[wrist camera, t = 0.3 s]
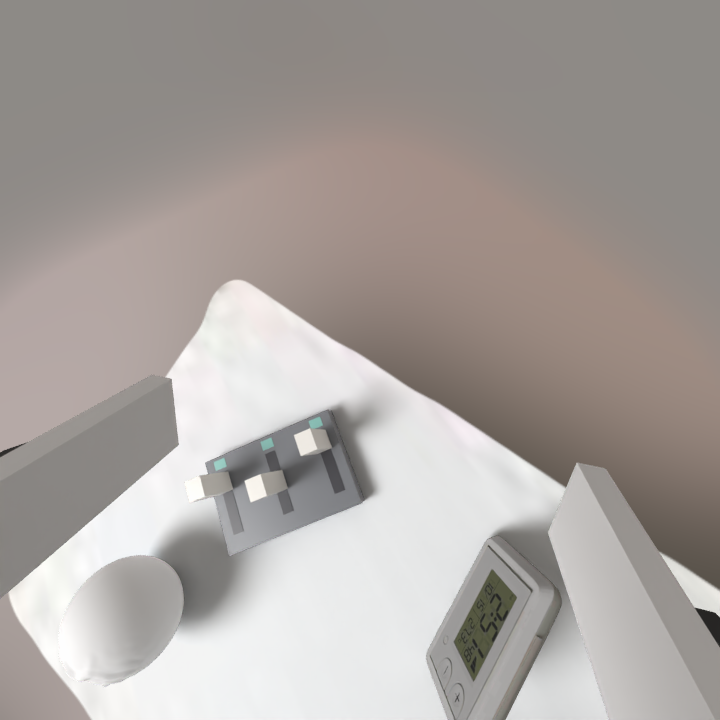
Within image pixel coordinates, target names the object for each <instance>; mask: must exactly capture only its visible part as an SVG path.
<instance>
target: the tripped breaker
mask: <svg viewBox="0 0 720 720" xmlns="http://www.w3.org/2000/svg"><path fill="white" fill-rule="evenodd" d="M245 485H246V488H247V492H248V495H249V499H250V502H253V501H256V500H259V499H262V498H265V497H268V496H271V495H274V494H276V493H279V492H281V491H284V490H286V489H288V487H287V484H286V480H285V477H284V474H283V471H282V470H279V471H274V472H269V473H264V474H260V475H257V476H255V477H252V478H250V479H248V480H245Z"/></svg>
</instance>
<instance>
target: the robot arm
mask: <svg viewBox="0 0 720 720" xmlns="http://www.w3.org/2000/svg"><path fill="white" fill-rule="evenodd" d="M178 445H179V443H178V434H177V425H176V416H175V407H174V398H173V388H172V379H170V378H165V377H160V376H155V375H151V376H149V377H147V378H145V379H143V380H141V381H140V382H138V383H136V384H134V385H132V386H130V387H129V388H127V389H125V390H123V391H121V392H120V393H118V394H116V395H114V396H112V397H110V398H108V399H107V400H105V401H103V402H101V403H99V404H97V405H96V406H94V407H92V408H90V409H88V410H87V411H85V412H83V413H81V414H79V415H77V416H75V417H73V418H72V419H70V420H68V421H66V422H64V423H62V424H61V425H59V426H57V427H55V428H53V429H51V430H50V431H48V432H46V433H44V434H42V435H41V436H39V437H37V438H35V439H33V440H31V441H29V442H27V443H24V444H21V445H19V446H16V447H13V448H10V449H7V450H4V451H2V452H0V599H1V598H2V597H3V596H4V595H5V594H6V593H8V592H9V591H10V590H11V589H12V588H13V587H15V586H16V585H17V584H18V583H19V582H20V581H22V580H23V579H24V578H25V577H26V576H27V575H29V574H30V573H31V572H32V571H33V570H34V569H35V568H37V567H38V566H39V565H40V564H41V563H42V562H44V561H45V560H46V559H47V558H48V557H49V556H51V555H52V554H53V553H54V552H55V551H56V550H57V549H59V548H60V547H61V546H62V545H63V544H64V543H66V542H67V541H68V540H69V539H70V538H71V537H73V536H74V535H75V534H76V533H77V532H78V531H79V530H81V529H82V528H83V527H84V526H85V525H86V524H88V523H89V522H90V521H91V520H92V519H93V518H95V517H96V516H97V515H98V514H99V513H100V512H101V511H103V510H104V509H105V508H106V507H107V506H108V505H110V504H111V503H112V502H113V501H114V500H115V499H117V498H118V497H119V496H120V495H121V494H122V493H123V492H125V491H126V490H127V489H128V488H129V487H130V486H132V485H133V484H134V483H135V482H136V481H137V480H139V479H140V478H141V477H142V476H143V475H144V474H145V473H147V472H148V471H149V470H150V469H151V468H152V467H154V466H155V465H156V464H157V463H158V462H159V461H161V460H162V459H163V458H164V457H165V456H166V455H167V454H169V453H170V452H171V451H172V450H173V449H174V448H176V447H177V446H178ZM548 535H549V538H550V541H551V544H552V547H553V550H554V553H555V556H556V559H557V562H558V565H559V568H560V571H561V574H562V577H563V580H564V583H565V586H566V590H567V593H568V596H569V599H570V602H571V605H572V608H573V611H574V614H575V617H576V620H577V623H578V626H579V629H580V632H581V635H582V638H583V641H584V645H585V648H586V651H587V654H588V657H589V660H590V663H591V666H592V669H593V672H594V675H595V678H596V681H597V684H598V687H599V690H600V693H601V696H602V699H603V703H604V706H605V709H606V712H607V715H608V718H609V720H720V617H719V616H718V615H717V614H716V613H714V612H710V611H706V610H702V609H698V608H694V606H693V605H692V603H691V602H690V600H689V598H688V597H687V595H686V594H685V592H684V591H683V589H682V588H681V586H680V584H679V583H678V581H677V580H676V578H675V577H674V575H673V573H672V572H671V570H670V569H669V567H668V566H667V564H666V562H665V561H664V559H663V558H662V556H661V555H660V553H659V552H658V550H657V548H656V547H655V545H654V544H653V542H652V541H651V539H650V537H649V536H648V534H647V533H646V531H645V530H644V528H643V527H642V525H641V523H640V522H639V520H638V519H637V517H636V515H635V514H634V512H633V511H632V509H631V508H630V506H629V505H628V503H627V501H626V500H625V498H624V497H623V495H622V494H621V492H620V490H619V489H618V488H617V486H616V484H615V483H614V481H613V479H612V478H611V476H610V475H609V473H608V472H607V470H606V469H605V468H600V467H596V466H591V465H586V464H581V463H577V464H576V466H575V468H574V471H573V473H572V476H571V478H570V480H569V483H568V485H567V488H566V490H565V492H564V495H563V497H562V500H561V502H560V504H559V507H558V509H557V512H556V514H555V516H554V519H553V521H552V524H551V526H550V528H549V531H548Z"/></svg>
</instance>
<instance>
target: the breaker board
mask: <svg viewBox="0 0 720 720" xmlns="http://www.w3.org/2000/svg"><path fill="white" fill-rule="evenodd" d="M309 428H313V429H323V430H326V432H327V435H328V438H329V441H330V444H331V446H332V448H331V449H328V450H326V451H324V452H321V453H319V454H314V455H306V456H301V455H300V452H299V449H298V446H297V443H296V440H295V437H294V435H295V434H298V433H300V432H302V431H305V430H307V429H309ZM205 464H206V468H207V472H208V474H214V473H220V472H227V471H228V473H229V476H230V480H231V484H232V487H233V490H231V491H229V492H226V493H224V494H221V495H219V496H215V497H214V499H215V503H216V506H217V510H218V514H219V518H220V522H221V526H222V530H223V533H224V537H225V541H226V545H227V549H228V553H229V556H231V555H234V554H236V553H239V552H241V551H244V550H246V549H249V548H251V547H254V546H256V545H258V544H261V543H263V542H266V541H268V540H271V539H273V538H276V537H278V536H281V535H283V534H286V533H288V532H291V531H293V530H296V529H298V528H301V527H303V526H306V525H308V524H311V523H313V522H316V521H318V520H321V519H323V518H326V517H328V516H331V515H333V514H336V513H338V512H341V511H343V510H346V509H348V508H351V507H353V506H356V505H358V504H361V503H362V502H363V501H365V500H364V498H363V495H362V492H361V490H360V487H359V484H358V481H357V479H356V476H355V473H354V471H353V468H352V465H351V463H350V460H349V457H348V455H347V452H346V449H345V446H344V444H343V441H342V438H341V436H340V433H339V430H338V428H337V425H336V422H335V419H334V417H333V414H332V411H329V410H326V411H324V412H321V413H319V414H317V415H314V416H312V417H310V418H307V419H305V420H303V421H300V422H298V423H296V424H293V425H291V426H289V427H287V428H284V429H282V430H280V431H277V432H275V433H273V434H270V435H268V436H266V437H263V438H261V439H259V440H256V441H254V442H252V443H250V444H247V445H245V446H243V447H240V448H238V449H236V450H233V451H231V452H229V453H226V454H224V455H222V456H219V457H217V458H215V459H212V460H210V461H208V462H206V463H205ZM279 470H282V471H283V474H284V477H285V480H286V484H287V487H288V489H286V490H284V491H281V492H279V493H276V494H274V495H271V496H268V497H265V498H262V499H259V500H256V501H253V502H250V499H249V495H248V492H247V488H246V485H245V480H248V479H250V478H252V477H255V476H257V475H260V474H264V473H269V472H274V471H279Z"/></svg>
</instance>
